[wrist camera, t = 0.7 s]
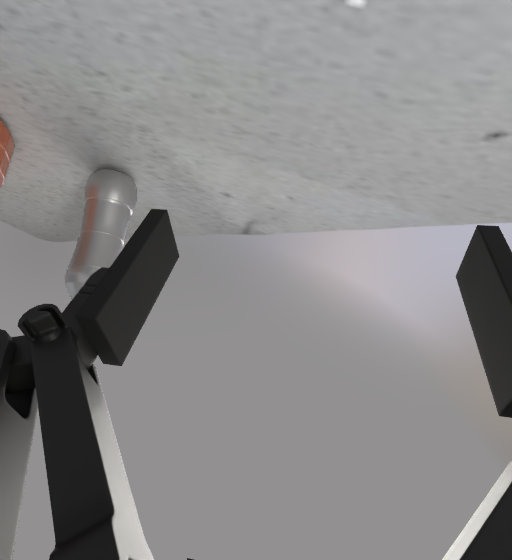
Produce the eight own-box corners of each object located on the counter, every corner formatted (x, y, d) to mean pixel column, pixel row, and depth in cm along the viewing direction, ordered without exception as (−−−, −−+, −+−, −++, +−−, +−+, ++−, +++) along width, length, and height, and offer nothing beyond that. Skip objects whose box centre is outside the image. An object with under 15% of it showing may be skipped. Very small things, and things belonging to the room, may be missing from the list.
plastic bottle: (86, 179, 50) (52, 323, 45) (93, 155, 45) (54, 317, 39) (134, 194, 53) (107, 331, 48) (146, 173, 48) (117, 326, 42)
